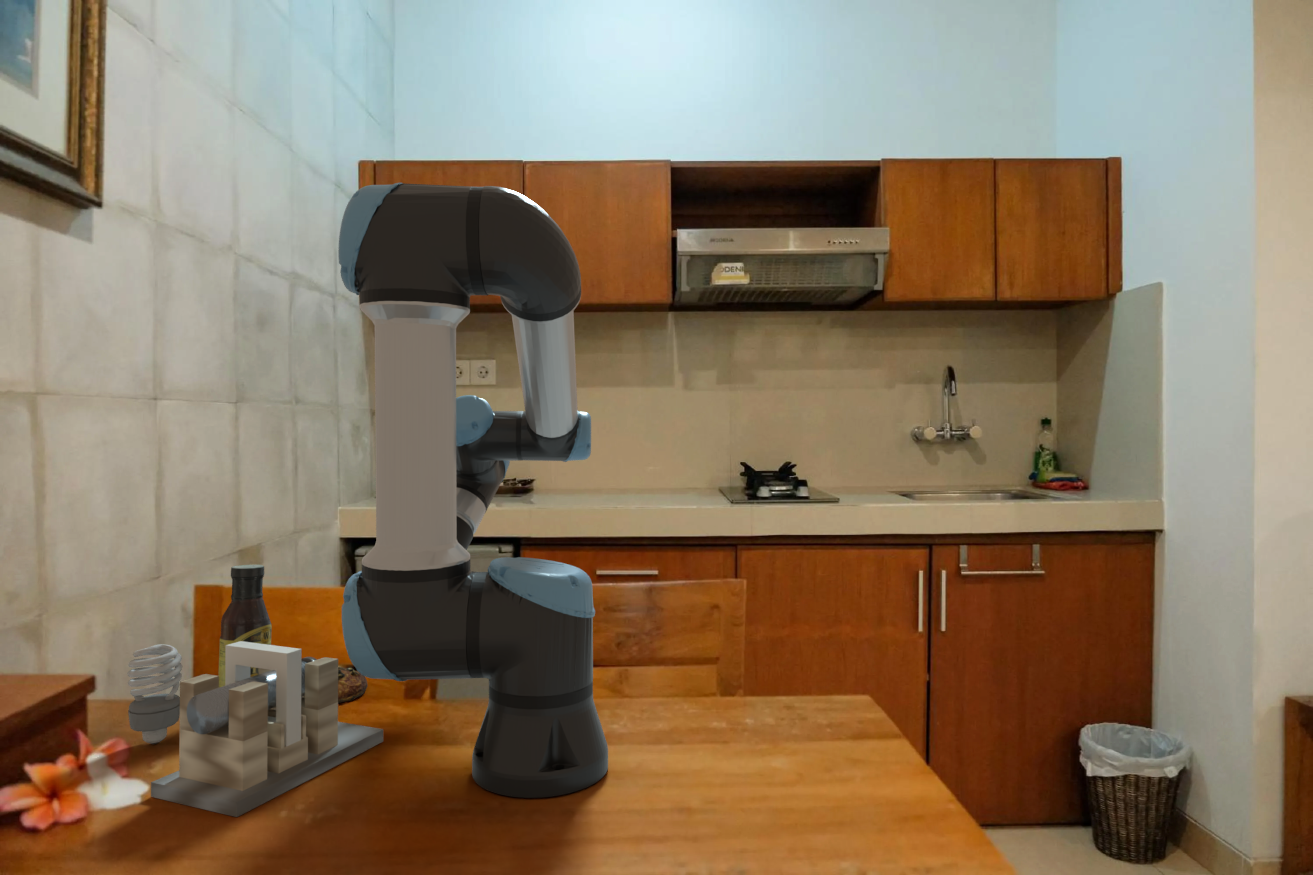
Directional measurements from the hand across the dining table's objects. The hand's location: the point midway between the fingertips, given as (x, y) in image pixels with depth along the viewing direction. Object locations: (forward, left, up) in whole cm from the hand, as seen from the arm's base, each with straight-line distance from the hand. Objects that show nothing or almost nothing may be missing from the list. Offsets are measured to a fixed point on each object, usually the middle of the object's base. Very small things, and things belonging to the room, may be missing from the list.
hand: (376, 663), depth 105 cm
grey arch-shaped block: (0, +18, -3) cm, 19 cm away
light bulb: (+19, +17, -8) cm, 26 cm away
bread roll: (+14, -5, -8) cm, 17 cm away
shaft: (0, +19, -1) cm, 19 cm away
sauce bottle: (+18, +5, -8) cm, 20 cm away
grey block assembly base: (0, +16, -7) cm, 18 cm away
